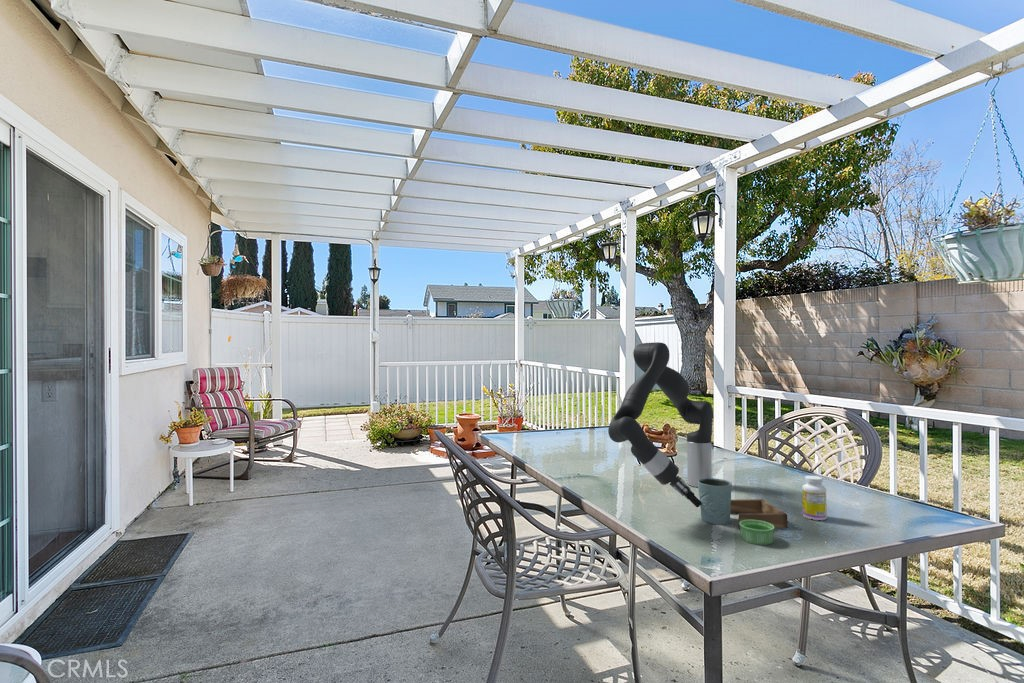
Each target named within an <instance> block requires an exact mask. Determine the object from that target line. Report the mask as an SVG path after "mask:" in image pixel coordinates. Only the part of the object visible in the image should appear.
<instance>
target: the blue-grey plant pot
mask: <svg viewBox="0 0 1024 683" xmlns="http://www.w3.org/2000/svg"><path fill="white" fill-rule="evenodd" d="M697 488H698V496H699V498H698V499H699V500H700V501H701V502H702V504H701V505H700V506H699V508H700V517H701V518H700V519H701V520H702V521H703V522H705V523H708V524H713V525H727V524H729V523H730V522H731V513H730V511H731V506H730V504H731V500H732V489H733V488H732V482H731V481H729V480H726V479H722V478H714V477H712V478H704V479H699V480H698V487H697Z"/></svg>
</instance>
